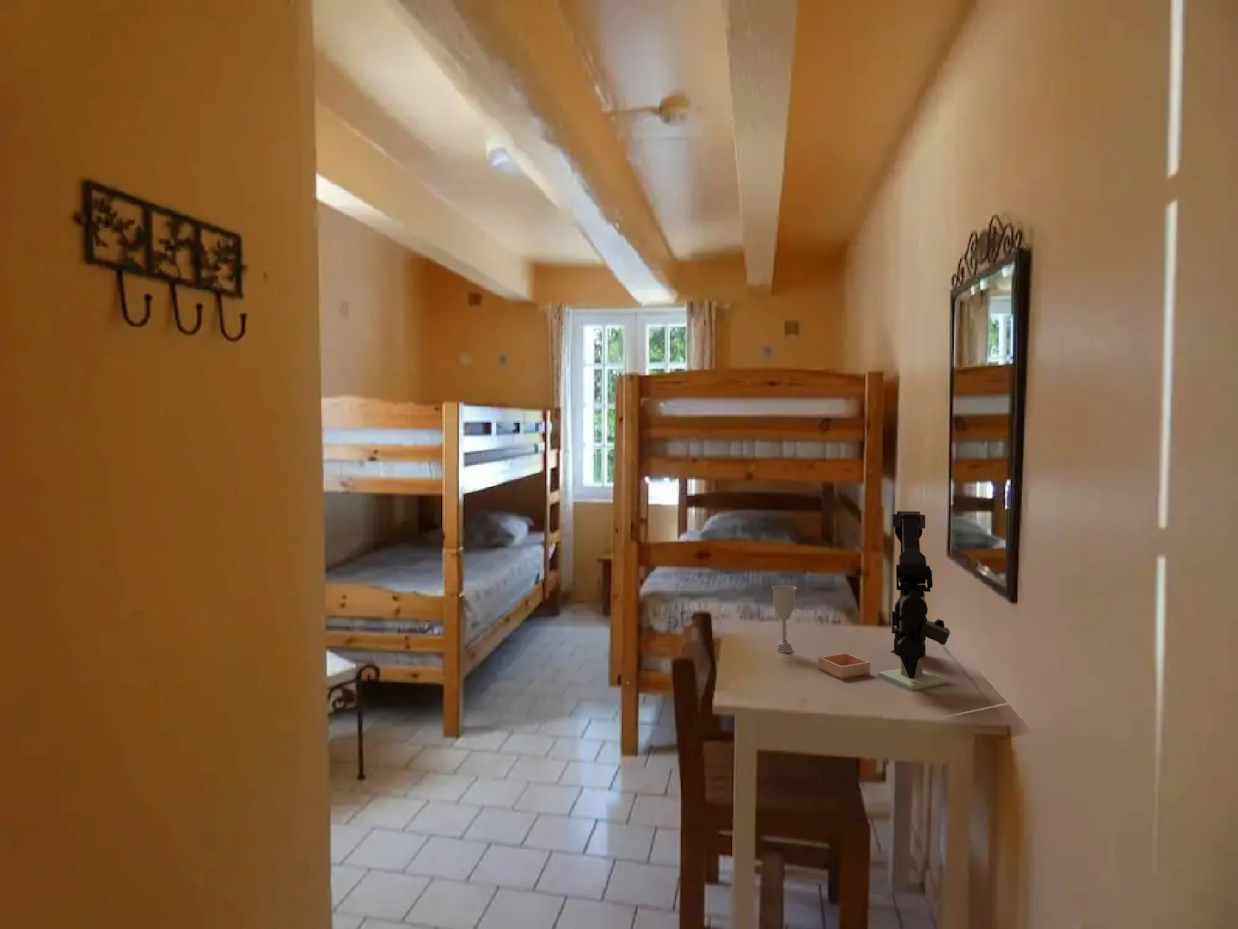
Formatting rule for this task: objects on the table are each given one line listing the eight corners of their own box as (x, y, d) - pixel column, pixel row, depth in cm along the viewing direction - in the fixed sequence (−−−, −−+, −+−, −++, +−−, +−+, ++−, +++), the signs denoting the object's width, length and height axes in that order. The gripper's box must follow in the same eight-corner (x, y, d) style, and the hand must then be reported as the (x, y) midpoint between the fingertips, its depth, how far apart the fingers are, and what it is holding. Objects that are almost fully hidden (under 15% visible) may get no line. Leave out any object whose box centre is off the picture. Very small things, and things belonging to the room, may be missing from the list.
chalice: (766, 648, 217) (766, 586, 216) (786, 645, 220) (786, 583, 219) (781, 655, 210) (781, 591, 209) (802, 652, 213) (802, 588, 212)
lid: (912, 670, 195) (912, 651, 195) (946, 683, 185) (946, 663, 185) (878, 676, 191) (878, 656, 190) (911, 690, 181) (911, 669, 180)
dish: (846, 665, 200) (846, 652, 200) (869, 676, 192) (870, 662, 192) (818, 670, 197) (818, 657, 197) (841, 681, 189) (841, 667, 188)
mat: (912, 670, 196) (912, 668, 196) (952, 685, 184) (952, 684, 184) (872, 677, 191) (872, 675, 191) (911, 693, 179) (911, 692, 179)
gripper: (948, 623, 175) (948, 689, 176) (946, 605, 192) (946, 665, 193) (897, 619, 179) (897, 684, 180) (900, 601, 197) (899, 661, 197)
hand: (911, 673), depth 188 cm, fingers open, 8 cm apart
